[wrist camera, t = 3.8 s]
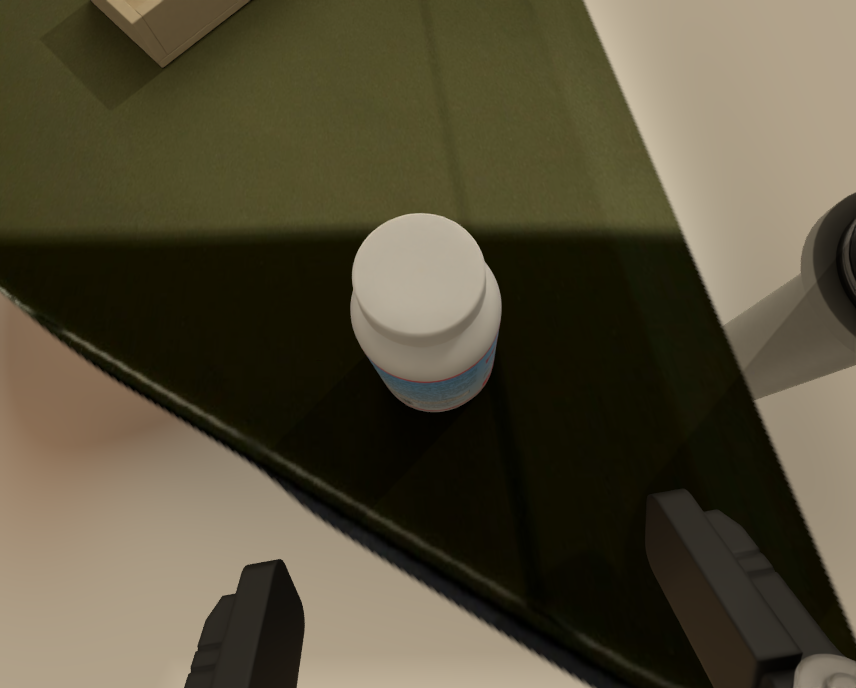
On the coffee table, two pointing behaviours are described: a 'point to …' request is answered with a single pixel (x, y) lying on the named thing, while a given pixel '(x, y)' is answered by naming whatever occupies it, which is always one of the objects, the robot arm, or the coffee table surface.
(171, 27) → the holder
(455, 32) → the coffee table surface
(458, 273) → the pill bottle
